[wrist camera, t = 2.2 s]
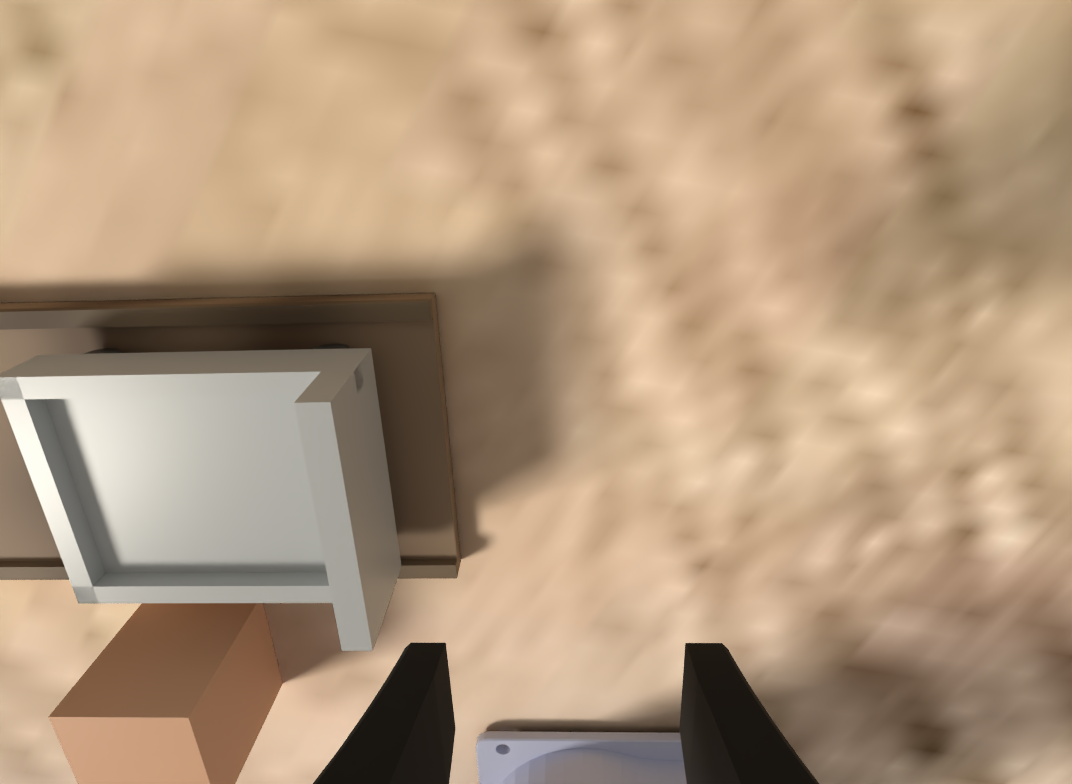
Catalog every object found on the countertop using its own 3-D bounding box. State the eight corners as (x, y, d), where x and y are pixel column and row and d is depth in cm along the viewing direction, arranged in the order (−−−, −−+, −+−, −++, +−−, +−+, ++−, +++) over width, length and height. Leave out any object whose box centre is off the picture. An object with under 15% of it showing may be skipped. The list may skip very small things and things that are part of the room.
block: (261, 595, 23) (188, 718, 19) (282, 682, 25) (220, 814, 20) (147, 595, 24) (48, 717, 19) (176, 682, 25) (90, 813, 21)
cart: (380, 335, 19) (330, 402, 15) (408, 546, 22) (372, 650, 18) (63, 342, 19) (-70, 408, 15) (130, 548, 22) (34, 650, 18)
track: (435, 292, 19) (416, 322, 16) (460, 560, 22) (448, 616, 20) (-283, 309, 20) (-399, 339, 17) (-149, 563, 23) (-229, 616, 21)
